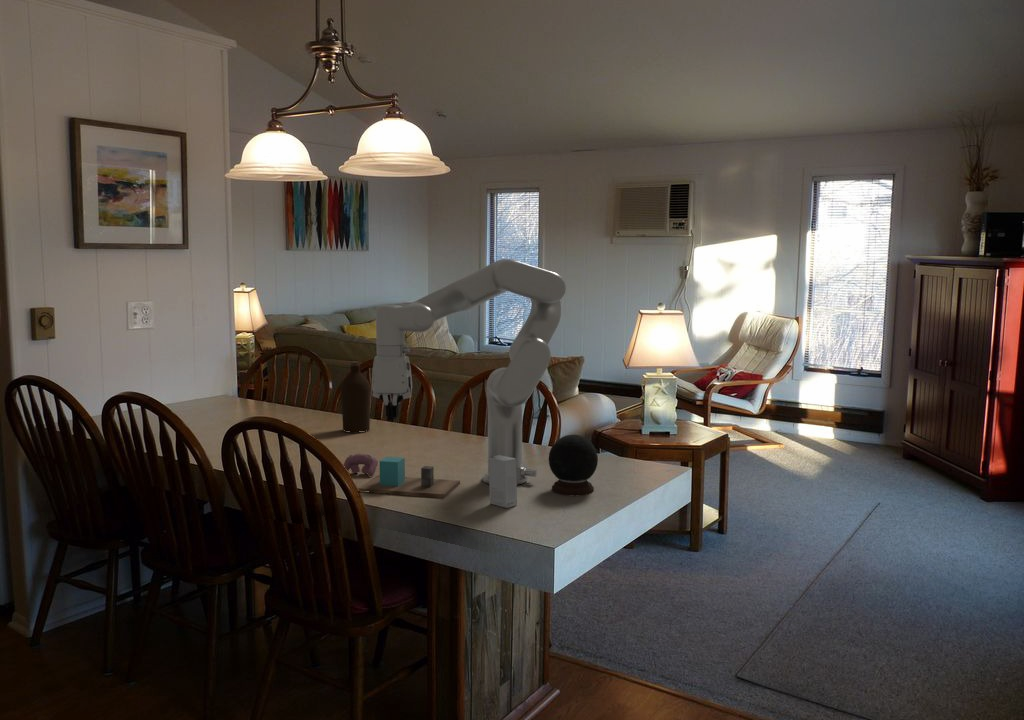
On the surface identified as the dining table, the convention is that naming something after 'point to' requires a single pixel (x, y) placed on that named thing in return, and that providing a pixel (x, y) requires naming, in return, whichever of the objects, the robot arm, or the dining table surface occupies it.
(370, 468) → the video game controller
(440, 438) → the dining table surface
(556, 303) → the robot arm
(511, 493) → the skincare box
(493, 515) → the dining table surface
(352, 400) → the olive oil
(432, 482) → the flat wooden board
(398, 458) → the turquoise toy cube
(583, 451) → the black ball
